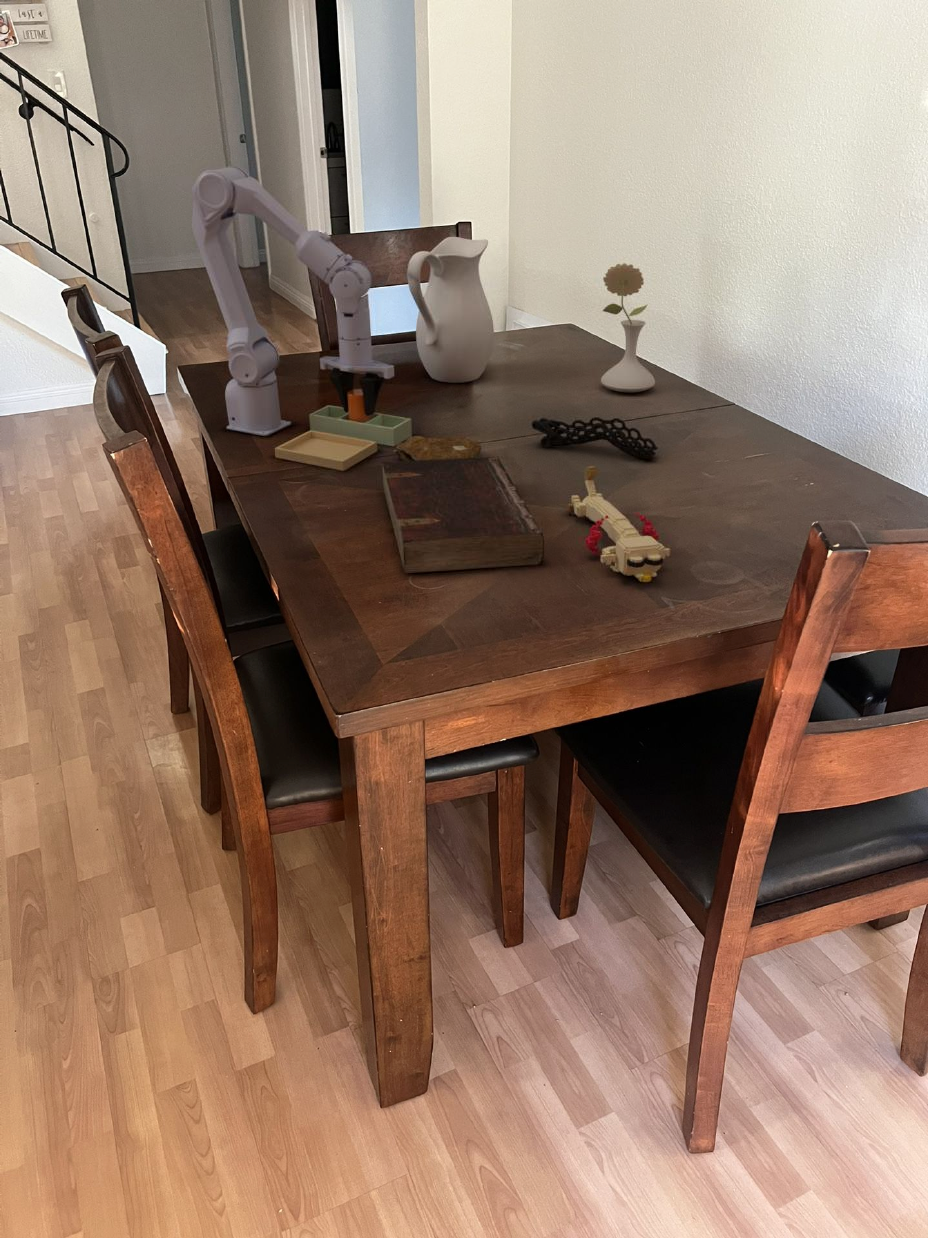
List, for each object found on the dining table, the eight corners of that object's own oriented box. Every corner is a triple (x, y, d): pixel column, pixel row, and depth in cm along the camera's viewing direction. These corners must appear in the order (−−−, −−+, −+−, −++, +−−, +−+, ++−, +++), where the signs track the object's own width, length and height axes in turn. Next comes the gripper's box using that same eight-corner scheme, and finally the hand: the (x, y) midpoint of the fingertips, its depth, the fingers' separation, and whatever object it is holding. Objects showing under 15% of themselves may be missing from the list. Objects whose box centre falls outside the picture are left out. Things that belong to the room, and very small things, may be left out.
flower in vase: (662, 386, 192) (676, 262, 179) (641, 400, 184) (654, 271, 171) (606, 377, 198) (616, 257, 185) (584, 390, 190) (592, 265, 177)
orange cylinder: (344, 420, 164) (342, 393, 162) (356, 414, 167) (354, 387, 165) (363, 423, 163) (361, 396, 160) (374, 417, 166) (373, 390, 163)
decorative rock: (392, 477, 149) (482, 479, 149) (391, 454, 147) (483, 456, 147) (395, 449, 158) (480, 451, 159) (395, 427, 156) (481, 429, 157)
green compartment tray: (310, 431, 168) (308, 414, 166) (329, 421, 173) (328, 404, 171) (394, 446, 161) (393, 428, 159) (411, 435, 165) (411, 418, 164)
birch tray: (275, 457, 156) (274, 448, 155) (311, 438, 164) (310, 429, 163) (343, 470, 150) (343, 461, 150) (377, 450, 159) (376, 441, 158)
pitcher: (447, 362, 210) (446, 233, 195) (508, 373, 201) (510, 240, 187) (381, 386, 193) (374, 247, 179) (444, 399, 184) (442, 255, 170)
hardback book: (543, 564, 121) (544, 530, 118) (404, 575, 118) (403, 541, 116) (499, 483, 145) (499, 454, 143) (383, 491, 143) (382, 461, 140)
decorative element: (658, 455, 156) (661, 422, 153) (650, 464, 152) (654, 430, 149) (537, 438, 164) (538, 406, 161) (527, 446, 160) (528, 414, 157)
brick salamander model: (553, 522, 135) (611, 587, 113) (554, 465, 132) (615, 522, 110) (615, 516, 137) (684, 579, 115) (619, 460, 133) (691, 515, 111)
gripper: (307, 337, 157) (314, 412, 164) (377, 346, 152) (381, 424, 159) (330, 328, 163) (335, 402, 170) (399, 337, 157) (401, 412, 164)
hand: (359, 412), depth 165 cm, fingers open, 4 cm apart
